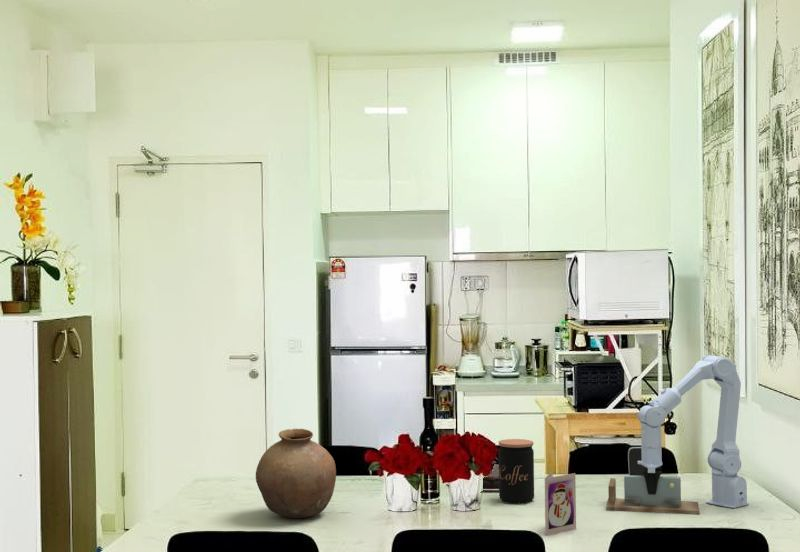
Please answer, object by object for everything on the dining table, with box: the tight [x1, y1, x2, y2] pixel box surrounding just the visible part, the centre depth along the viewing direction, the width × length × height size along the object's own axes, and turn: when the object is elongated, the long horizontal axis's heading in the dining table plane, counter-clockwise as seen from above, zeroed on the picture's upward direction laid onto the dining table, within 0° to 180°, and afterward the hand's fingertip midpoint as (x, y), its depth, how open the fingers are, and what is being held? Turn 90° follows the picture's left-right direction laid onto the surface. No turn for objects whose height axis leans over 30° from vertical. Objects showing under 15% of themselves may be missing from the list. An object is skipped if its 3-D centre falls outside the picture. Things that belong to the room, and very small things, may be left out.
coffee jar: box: [498, 438, 535, 505], centre depth 301 cm, size 11×11×18 cm
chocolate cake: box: [482, 463, 499, 493], centre depth 327 cm, size 28×28×7 cm
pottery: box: [255, 428, 337, 519], centre depth 284 cm, size 23×23×25 cm
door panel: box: [623, 474, 682, 506], centre depth 289 cm, size 16×4×8 cm, turn 75°
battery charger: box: [627, 446, 645, 476], centre depth 328 cm, size 7×4×11 cm, turn 85°
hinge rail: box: [605, 477, 700, 515], centre depth 289 cm, size 26×12×7 cm, turn 75°
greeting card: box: [544, 470, 577, 536], centre depth 265 cm, size 11×7×15 cm, turn 126°
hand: (652, 493), depth 289 cm, fingers closed on door panel, 2 cm apart
